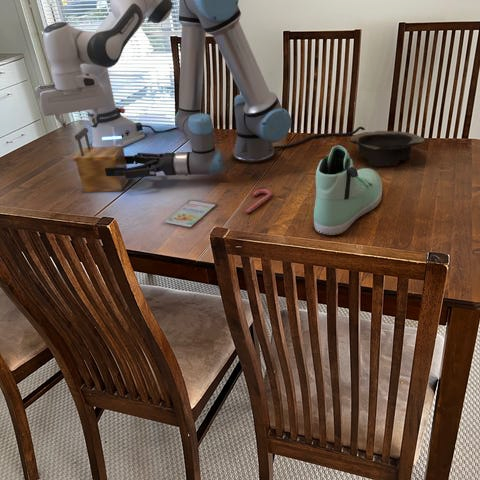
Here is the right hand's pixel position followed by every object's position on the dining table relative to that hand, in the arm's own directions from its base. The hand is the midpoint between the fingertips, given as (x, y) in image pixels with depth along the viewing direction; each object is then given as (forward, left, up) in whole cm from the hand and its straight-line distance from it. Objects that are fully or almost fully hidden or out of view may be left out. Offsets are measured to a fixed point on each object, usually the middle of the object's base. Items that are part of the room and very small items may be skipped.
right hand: (110, 166), depth 161 cm
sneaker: (-61, +51, -7) cm, 80 cm away
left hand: (+7, -3, +14) cm, 16 cm away
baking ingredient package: (-18, +33, -7) cm, 38 cm away
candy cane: (-38, +36, -7) cm, 53 cm away
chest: (+3, -1, -7) cm, 8 cm away
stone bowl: (-91, +24, -7) cm, 95 cm away
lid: (+3, -1, +4) cm, 5 cm away
